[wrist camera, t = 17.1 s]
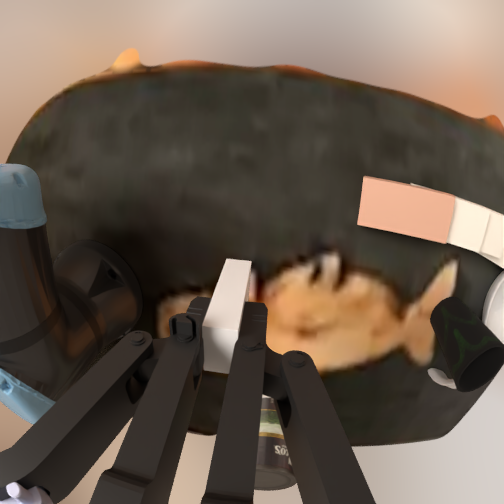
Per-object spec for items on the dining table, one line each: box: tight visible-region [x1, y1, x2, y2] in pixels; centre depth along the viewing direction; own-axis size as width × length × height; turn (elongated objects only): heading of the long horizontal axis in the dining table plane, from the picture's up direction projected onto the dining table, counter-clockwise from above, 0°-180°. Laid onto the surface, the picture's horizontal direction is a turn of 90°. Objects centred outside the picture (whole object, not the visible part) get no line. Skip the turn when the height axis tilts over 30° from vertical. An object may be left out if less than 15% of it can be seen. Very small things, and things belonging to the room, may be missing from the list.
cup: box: [430, 297, 504, 392], centre depth 28 cm, size 8×8×12 cm
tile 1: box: [410, 183, 491, 253], centre depth 26 cm, size 2×5×10 cm
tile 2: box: [455, 196, 504, 259], centre depth 26 cm, size 2×5×10 cm
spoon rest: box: [428, 271, 504, 389], centre depth 30 cm, size 24×12×7 cm, turn 156°
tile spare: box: [357, 176, 456, 244], centre depth 26 cm, size 2×5×10 cm
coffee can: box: [254, 395, 297, 490], centre depth 38 cm, size 10×10×14 cm
